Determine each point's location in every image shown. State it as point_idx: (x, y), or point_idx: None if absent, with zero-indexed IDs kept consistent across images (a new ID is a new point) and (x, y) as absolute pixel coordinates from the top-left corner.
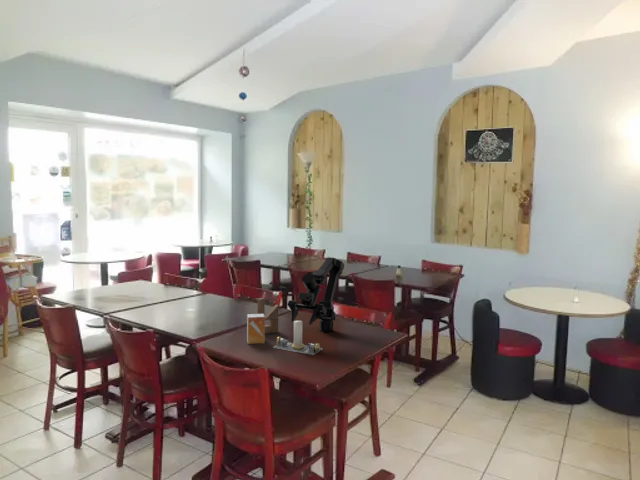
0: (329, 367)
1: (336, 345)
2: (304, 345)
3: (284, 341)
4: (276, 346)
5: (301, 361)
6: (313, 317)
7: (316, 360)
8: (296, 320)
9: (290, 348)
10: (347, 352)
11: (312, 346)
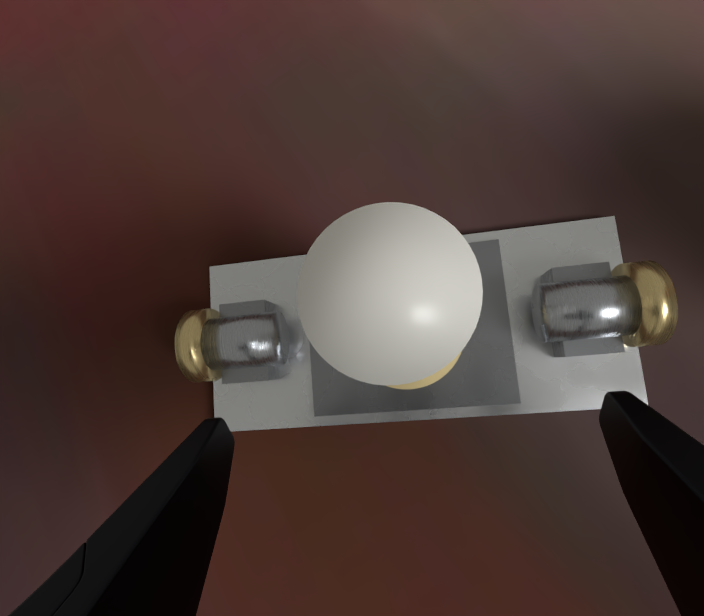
0: (32, 139)
1: None
2: (377, 401)
3: (547, 283)
4: (589, 237)
5: (225, 114)
6: (89, 542)
7: (149, 191)
8: (466, 341)
9: None
10: (30, 473)
11: (232, 316)
